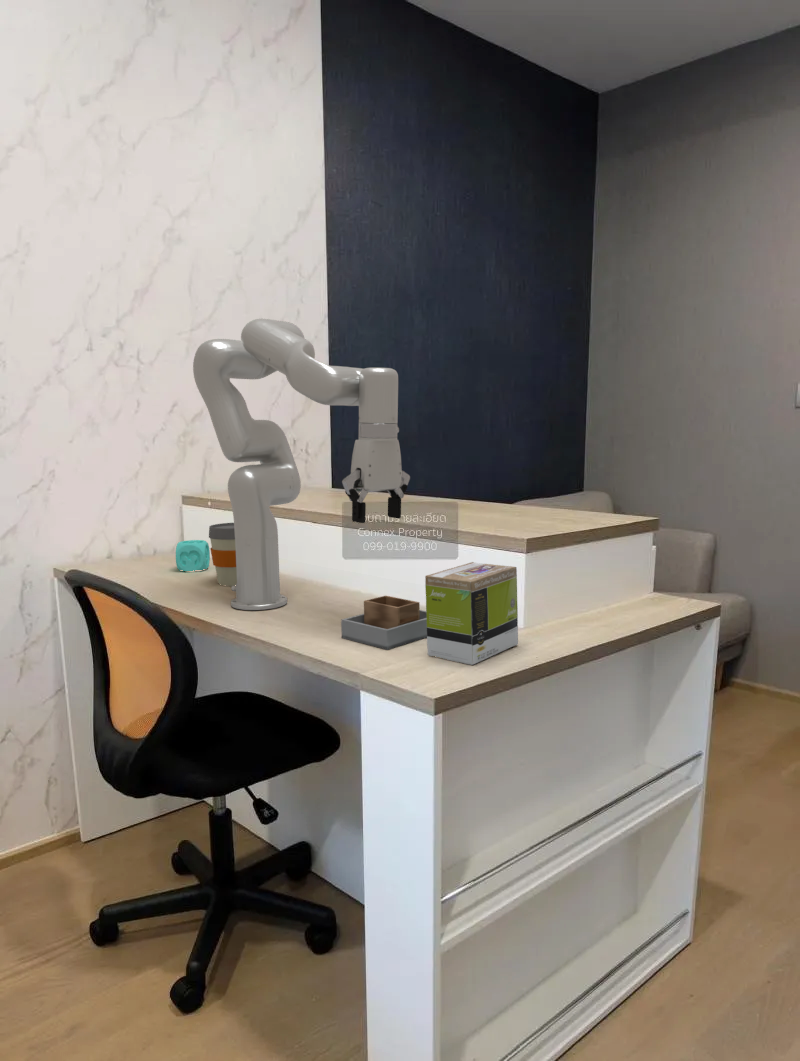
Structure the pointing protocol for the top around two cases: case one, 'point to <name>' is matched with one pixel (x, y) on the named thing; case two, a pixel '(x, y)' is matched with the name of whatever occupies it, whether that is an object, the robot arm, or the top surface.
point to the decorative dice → (192, 555)
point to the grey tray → (383, 632)
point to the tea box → (471, 612)
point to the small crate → (390, 612)
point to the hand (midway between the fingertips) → (376, 519)
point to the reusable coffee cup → (224, 552)
